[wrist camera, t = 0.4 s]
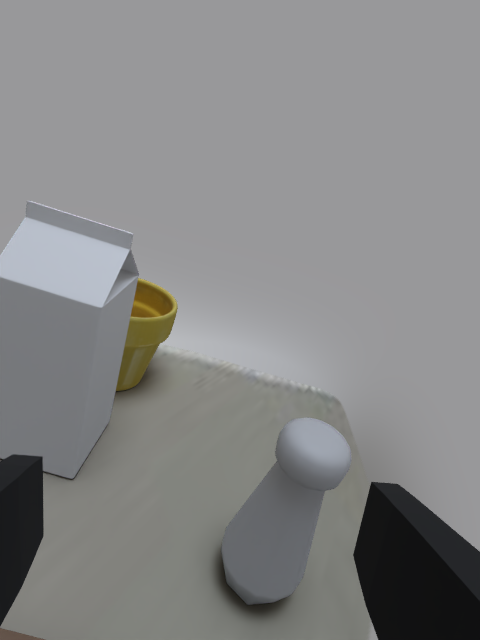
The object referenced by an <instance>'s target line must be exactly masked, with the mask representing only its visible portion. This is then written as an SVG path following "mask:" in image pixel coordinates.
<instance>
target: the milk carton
mask: <svg viewBox="0 0 480 640" xmlns="http://www.w3.org/2000/svg"><path fill="white" fill-rule="evenodd" d="M132 239H133V233H130V232H127V231H123V230H121V229H118V228H114V227H111V226H108V225H105V224H102V223H99V222H95V221H92V220H89V219H86V218H83V217H80V216H77V215H73V214H70V213H67V212H64V211H61V210H58V209H54V208H51V207H48V206H45V205H42V204H39V203H35V202H32V201H27V205H26V217H25V219H24V220H23V221H22V223H21V225H20V226H19V228H18V229H17V231H16V232H15V234H14V235H13V237H12V238H11V240H10V241H9V243H8V245H7V246H6V248H5V249H4V251H3V252H2V254H1V255H0V458H1V459H5V458H7V457H9V456H11V455H12V454H17V455H30V456H43V471H46V472H49V473H52V474H56V475H59V476H63V477H66V478H70V479H73V478H74V477H75V475H76V474H77V472H78V471H79V469H80V467H81V466H82V464H83V463H84V461H85V459H86V458H87V456H88V455H89V453H90V451H91V450H92V448H93V447H94V445H95V443H96V442H97V440H98V439H99V437H100V436H101V434H102V432H103V431H104V429H105V428H106V426H107V424H108V423H109V421H110V416H111V411H112V406H113V401H114V396H115V391H116V386H117V381H118V376H119V371H120V366H121V361H122V356H123V351H124V346H125V341H126V336H127V331H128V326H129V321H130V317H131V312H132V307H133V302H134V297H135V292H136V286H137V281H138V276H139V273H138V270H137V267H136V264H135V261H134V258H133V255H132V251H131V244H132Z"/></svg>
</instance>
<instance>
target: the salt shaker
mask: <svg viewBox="0 0 480 640" xmlns="http://www.w3.org/2000/svg"><path fill="white" fill-rule="evenodd" d="M275 452H276V458H277V462H276V463H275V464H274V466H273V467H272V468H271V470H270V471H269V472H268V473H267V475H266V476H265V477H264V479H263V480H262V481H261V483H260V484H259V485H258V487H257V488H256V489H255V491H254V492H253V493H252V494H251V496H250V497H249V498H248V500H247V501H246V502H245V504H244V505H243V506H242V508H241V509H240V510H239V512H238V513H237V514H236V515H235V517H234V518H233V519H232V521H231V522H230V523H229V525H228V526H227V527H226V530H225V534H224V538H223V542H222V547H221V552H222V558H223V564H224V569H225V575H226V581H227V584H228V585H229V586H230V587H231V588H232V589H233V590H234V591H235V592H236V593H237V594H238V595H239V597H240V598H241V599H242V600H243V601H244V602H245V603H246V604H247V605H251V604H262V603H273V602H275V601H278V600H280V599H283V598H285V597H288V596H290V595H291V594H292V593H293V592H294V590H295V589H296V587H297V586H298V584H299V583H300V581H301V580H302V578H303V575H304V571H305V567H306V563H307V559H308V555H309V551H310V547H311V544H312V540H313V536H314V532H315V528H316V524H317V520H318V516H319V512H320V508H321V504H322V500H323V496H324V492H325V491H326V490H331V489H334V488H336V487H337V486H338V485H339V483H340V482H341V481H342V479H343V478H344V476H345V475H346V473H347V472H348V470H349V467H350V464H351V449H350V447H349V445H348V443H347V442H346V440H345V439H344V437H343V436H342V434H341V433H339V432H338V431H337V430H336V429H335V428H334V427H333V426H331V425H329V424H327V423H325V422H323V421H321V420H318V419H313V418H309V417H307V418H299V419H293V420H291V421H290V422H289V423H287V424H286V425H285V426H284V427H283V429H282V430H281V432H280V434H279V437H278V440H277V445H276V451H275Z"/></svg>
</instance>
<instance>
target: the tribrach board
mask: <svg viewBox="0 0 480 640" xmlns="http://www.w3.org/2000/svg"><path fill="white" fill-rule="evenodd" d="M0 640H45V639H41V638H37V637H33V636H29V635H25V634H21V633H17V632H13V631H9V630H5V629H2V628H0Z"/></svg>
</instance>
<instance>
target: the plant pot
mask: <svg viewBox="0 0 480 640" xmlns="http://www.w3.org/2000/svg"><path fill="white" fill-rule="evenodd" d="M176 313H177V302H176V300H175V299H174V297H173V296H172V295H171V294H170V293H169V292H168V291H166V290H165V289H163V288H162V287H160V286H158V285H156V284H154V283H151V282H149V281H146V280H143V279H140V278H138V281H137V286H136V292H135V297H134V302H133V307H132V312H131V317H130V321H129V326H128V331H127V336H126V341H125V346H124V351H123V356H122V361H121V366H120V371H119V376H118V381H117V386H116V391H122V390H127V389H130V388H132V387H134V386H136V385H137V384H138V383H139V382H140V380H141V378H142V377H143V375H144V373H145V371H146V369H147V367H148V365H149V363H150V361H151V359H152V357H153V355H154V353H155V352H156V350H157V348H158V346H159V344H160V343H162V342H163V341H165V340H166V339H167V338H168V336H169V335H170V332H171V330H172V326H173V323H174V320H175V317H176Z"/></svg>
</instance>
